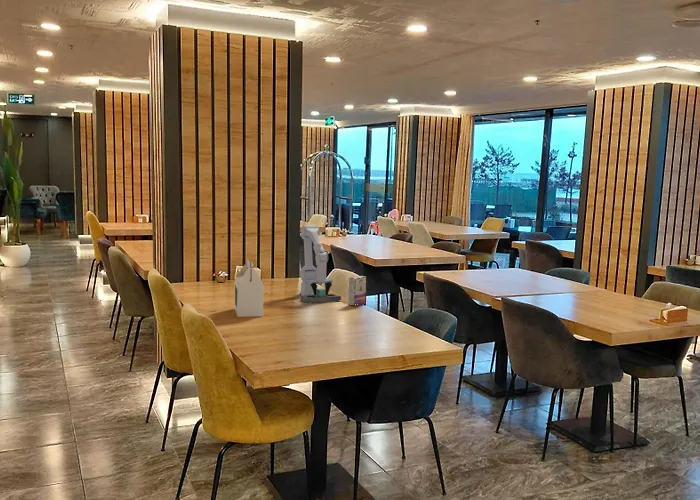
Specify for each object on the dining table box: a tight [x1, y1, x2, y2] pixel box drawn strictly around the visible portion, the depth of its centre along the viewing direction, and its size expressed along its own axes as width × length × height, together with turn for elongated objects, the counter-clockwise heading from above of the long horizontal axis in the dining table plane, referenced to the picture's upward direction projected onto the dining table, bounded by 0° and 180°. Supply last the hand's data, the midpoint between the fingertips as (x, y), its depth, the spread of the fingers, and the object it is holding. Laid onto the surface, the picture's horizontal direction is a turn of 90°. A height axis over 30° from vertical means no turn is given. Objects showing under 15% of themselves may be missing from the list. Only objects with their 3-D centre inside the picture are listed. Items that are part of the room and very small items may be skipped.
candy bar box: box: [348, 275, 367, 306], centre depth 370 cm, size 11×5×16 cm, turn 143°
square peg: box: [317, 288, 326, 297], centre depth 379 cm, size 4×4×7 cm
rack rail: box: [300, 293, 342, 304], centre depth 379 cm, size 10×22×3 cm, turn 118°
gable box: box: [233, 258, 265, 318], centre depth 337 cm, size 22×13×28 cm, turn 15°
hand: (320, 295), depth 379 cm, fingers open, 7 cm apart
